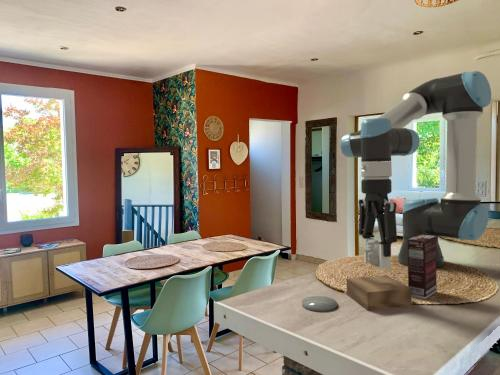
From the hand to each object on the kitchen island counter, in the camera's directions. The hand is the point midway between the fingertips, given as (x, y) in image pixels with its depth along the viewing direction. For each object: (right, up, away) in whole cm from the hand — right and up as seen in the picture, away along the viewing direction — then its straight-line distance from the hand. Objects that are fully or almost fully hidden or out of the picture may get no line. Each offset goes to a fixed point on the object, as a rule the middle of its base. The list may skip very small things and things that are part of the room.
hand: (376, 265), depth 101 cm
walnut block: (0, -10, +1) cm, 10 cm away
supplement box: (+14, -9, +4) cm, 17 cm away
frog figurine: (0, 0, 0) cm, 0 cm away
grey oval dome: (-16, -10, -2) cm, 19 cm away
